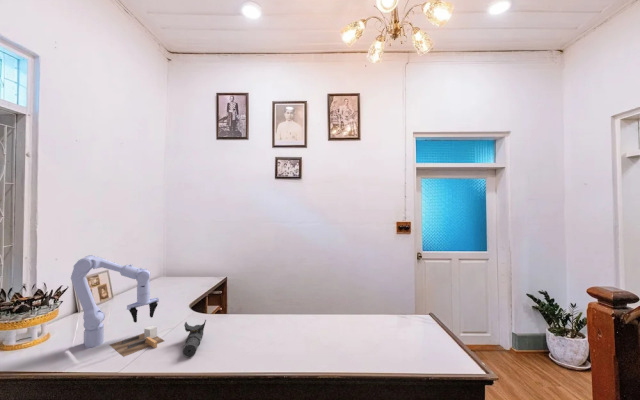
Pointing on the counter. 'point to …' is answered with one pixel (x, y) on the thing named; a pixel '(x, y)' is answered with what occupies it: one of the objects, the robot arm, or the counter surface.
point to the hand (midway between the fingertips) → (143, 319)
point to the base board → (133, 344)
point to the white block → (150, 331)
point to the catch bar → (151, 342)
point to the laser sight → (193, 338)
